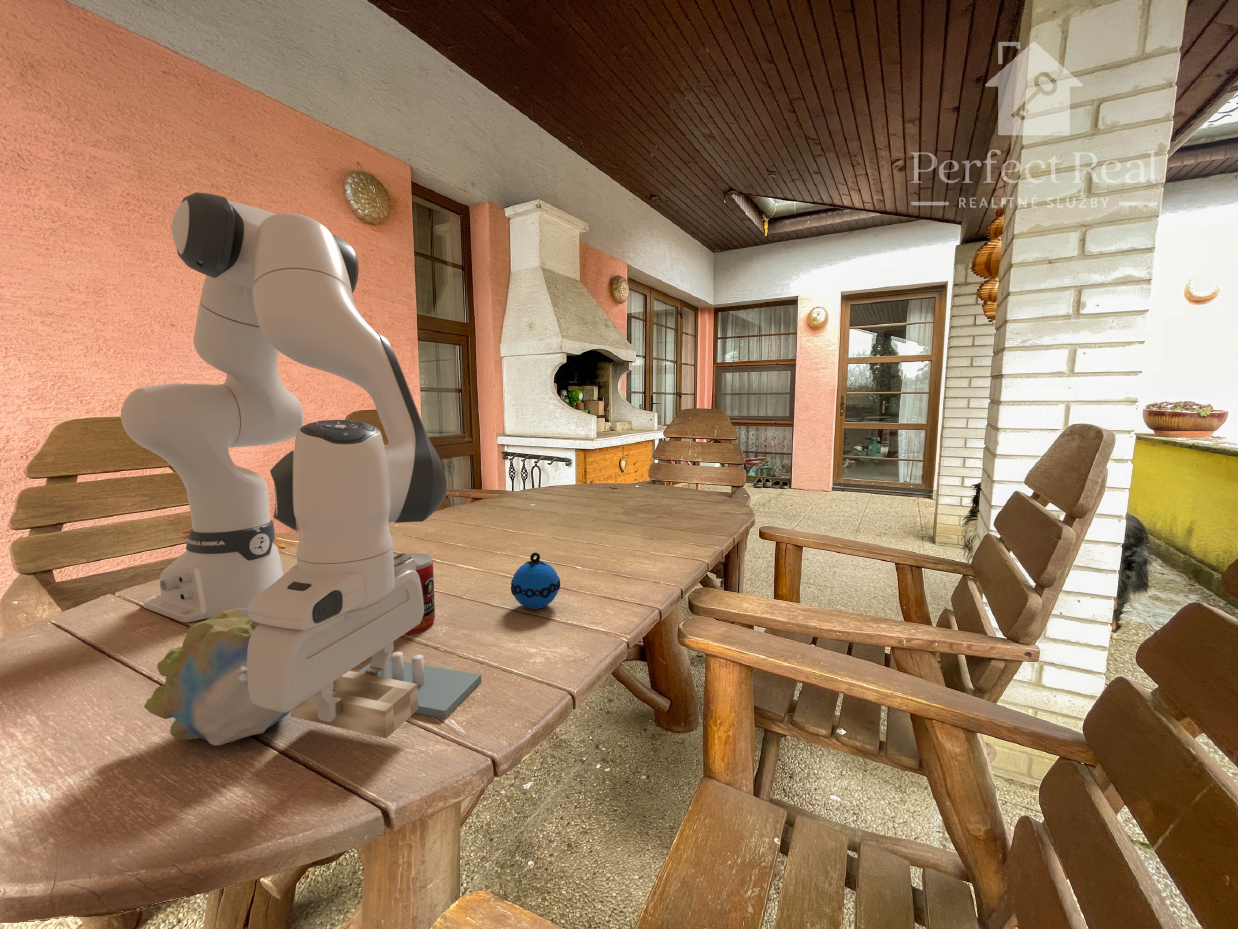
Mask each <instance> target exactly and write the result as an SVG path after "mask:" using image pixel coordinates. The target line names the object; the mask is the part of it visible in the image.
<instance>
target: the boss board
mask: <svg viewBox="0 0 1238 929" xmlns="http://www.w3.org/2000/svg"><path fill="white" fill-rule="evenodd" d="M410 659H411V660H410V661H411V662H405V661H404V652H402V651H396V652H392V654H391V657H390V660H389V663H388V665H387V678H389V679H394V680H399V681H405V682H410V683H415V684H417V693H418V710H417V711H416V712H414V713H413V714H417V715H423V716H429V717H433V718H438V719H443V720H446V719H447V718H448V717H449V716H450V715H451V714H452V713H453V712H454V711H455V710H456V709H457V708H458V707H459V706H460V705H461V703H462V702H463V701H464V700H466V699H467V697H469V695H470V694H471V693H472V692H473V691H474V690H475V689H476V688H477V687H478V686H479V685H480V683H483V682H482V674H481V673H473V672H469V671H462V670H455V669H449V668H442V667H437V666H429V665H425V664H424V662H425V661H424V655H423V654H415V655H413V656H412V657H411V658H410ZM369 667H370V663H368V664H367V665H365V666H364V667H363V668H361V669H359V670H358V671H357V672H358V673H364V674H365V670H366V669H367V668H369Z"/></svg>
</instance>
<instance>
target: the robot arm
mask: <svg viewBox="0 0 1238 929" xmlns="http://www.w3.org/2000/svg"><path fill="white" fill-rule="evenodd" d="M171 236H172V240H173V242H174V246H175V248H176V252H177V256H178V257H179V258H180V259H181V260H182V261H183V263H184V264H185V265H186V267H188V268H189V269H191V270H193V271H195V272H198V273H200V274H202V275H204V276H205V277H204V278H205V279H204V281H203V284H202V289H201V292H200V293H201V295H200V300H199V305H198V310H197V315H196V316H197V317H196V321H195V322H196V324H195V328H194V333H193V340H192V343H193V348H194V349H195V352H196V353H197V354H198V356H199V357H200V358H201V359H202V360H203V361H204V362H205V363H206V364H208V365H210V366H211V367H213V368H214V369H216V370H218V371H220V372H222V373H225V374H226V378H225V381H224V382H223V383H221V384H205V383H203V384H202V383H197V384H196V383H167V384H166V383H165V384H159V385H158V384H157V385H151V386H144V387H138V388H135V389H134V390H133V391H132V392H130V394H129V395H128V396H127V397H126V398H125V400H124V401H123V404H122V406H121V410H120V421H121V422H120V423H121V424H122V427H123V429H124V431H125V432H126V434H127V436H128V437H129V438H130V439H131V440H132V441H133V442H135V443H136V444H137V445H139V446H140V447H141V448H144V449H146V450H149V451H150V452H152V453H154V454H155V455H157V456H159V457H160V458H161V459H163V460H164V461H165V462H167V463H168V464H169V465H170V466H171V467H172V469H174V470H175V472H176V473H177V475H178V476H179V478H180V479H181V482H182V483H183V485H184V488H185V491H186V496H187V500H188V506H189V512H190V518H191V519H190V520H191V529H190V530H189V531H184V532H182V533H181V534H182V535H185V536H183V537H182V540H185V539H186V540H187V541H186V545H185V551H184V552H183V553H181V555H179V556H178V557H177V558H176V559H175V560H174V561H173V562H171V563H170V564H169V565H168V566H166V567H165V568H164V569H163V570H162V571H161V573H160V577H159V589H160V592H159V593H158V594H155V595H153V596H151V597H149V598H147V599H146V600H144V601H143V604H142V608H144V609H147V610H149V611H151V612H153V613H154V612H155V613H156V614H160V615H161V616H162V615H163V616H165V617H168V618H171V619H173V620H176V621H179V622H181V623H191V622H197V621H201V620H205V619H206V620H207V619H209V618H211V617H213V616H215V615H217V614H219V613H221V612H224V611H227V610H232V609H237V608H247V607H248V616H249V619H250V620H251V621H254V622H257V623H260V624H259V625H258V626H257V627H256V629H255V630H254V631H253V633H252V635H251V637H250V640H249V643H248V650H247V679H248V691H249V697H250V700H251V702H252V703H253V704H255V705H256V706H258V707H260V708H263V709H267V710H270V711H276V712H281V713H286V712H288V711H290V710H292V709H293V708H295V707H296V706H298V705H299V704H301V703H302V702H304V701H305V700H307V699H308V698H310V699H311V700H312V701H313V702H314V703H315V704H317V711H318V717H319V719H320V720H323V721H327V722H331V721H332V720H333V719H335V718H336V717H337V716H339V715H340V714H341V713H342V712H343V708H342V705H343V698H339V697H336V698H334V696H331V695H330V694H329V692H330V691H332V690H333V689H334V683H333V681H335V680H336V679H338V678H339V677H341V676H342V675H344V674H345V673H347V672H348V671H352V670H353V669H354V668H356V667H357V666H359V665H361V664H362V663H363V662H365V661H366V660H368V659H370V658H371V660H370V663H369V664H370V667H369V668H367V669H366V670H365V674H368V675H373V676H379V677H384V678H387V665H388V663H389V660H391V654H392V653H394V652H393V651H394V649H395V646H394V643H395V642H394V641H397V640H398V639H399V638H401V637H402V636H404V635H406V634H405V633H407V632H408V631H410V630H411V629H413V628H414V627H416V626H417V625H419V624H420V623H421V620H422V618H423V615H424V602H423V594H422V587H421V582H420V578H419V575H418V573H417V572H416V563H415V560H414V559H413V558H412V557H411V556H410V555H407V553H405V552H401V553H399V554H397V555H396V554H395V553H394V540H393V537H392V535H391V532H390V526H389V523H394V524H401V523H422V522H425V521H426V520H427V519H428V518H429V517H430V516H432V514H434V513H435V512H436V511H437V510H438V509H439V507H440V506H441V505H442V503H443V502H444V501H445V500H446V497H447V490H448V488H447V487H448V485H447V476H446V472H445V469H444V466H443V463H442V460H441V458H440V456H439V454H438V452H437V450H436V448H435V447H434V445H433V444H432V442H431V440H430V438H429V436H428V433H427V431H426V429H425V427H424V423H423V421H422V419H421V416H420V413H419V410H418V408H417V406H416V403H415V400H414V398H413V395H412V393H411V390H410V387H409V385H408V382H407V380H406V377H405V374H404V372H403V369H402V367H401V365H400V362H399V360H398V357H397V356H396V353H395V352H394V349H393V347H392V345H391V344H390V342H389V340H388V338H387V337H386V336H384V335H382V333H380V332H378V331H376V330H374V328H373V327H371V325H369V323H368V322H367V321H366V320H365V318H364V317H363V316H362V315H361V313H360V311H359V310H358V308H357V306H356V304H355V301H354V295H353V294H354V293H355V289H356V286H357V283H358V280H359V273H360V272H359V270H360V269H359V268H360V267H359V260H358V256H357V254H356V252H355V250H354V248H353V246H352V245H351V244H349V243H348V242H347V241H345V240H344V239H341V238H340V237H338V236H336V235H335V234H333V233H332V232H330V230H329V228H327V227H326V226H325V225H324V224H322V223H321V222H320V221H318V220H317V219H314V218H312V217H310V216H307V215H305V214H300V213H298V212H297V213H296V212H280V213H274V212H271V211H269V210H265V209H262V208H259V207H256V206H251V205H247V204H245V203H241V202H236V201H232V200H229V199H227V198H226V197H225V196H222V195H217V194H212V193H206V192H193V193H191V194H189V195H186V196H185V197H183V199H182V200H181V203H180V205H179V206H178V207H177V208H176V210H175V211H174V213H173V216H172V220H171ZM279 352H280V353H281V354H282V355H285V356H286V357H287V358H288V359H290V360H292V361H295V362H297V363H299V364H302V365H303V366H306V367H308V368H313V369H316V370H320V371H322V372H326V373H328V374H331V375H335V376H337V377H339V378H343V379H344V380H347V381H349V382H351V383H353V384H355V385H357V386H359V387H360V388H362V389H363V390H365V392H366V393H367V394H368V395H369V396H370V398H371V399H372V401H373V404H374V406H375V409H376V411H377V414H378V417H379V420H380V422H381V424H382V427H383V430H384V433H385V435H386V438H387V441H388V443H389V444H384V438H383V435H382V433H381V430H380V429H379V428H378V427H376V426H374V425H371V424H370V423H368V422H362V421H355V420H350V419H327V420H325V419H323V420H318V421H315V422H308V423H306V424H305V425H304V423H305V413H304V412H305V411H304V408H303V406H302V404H301V402H300V400H299V399H298V398H297V397H296V396H295V395H294V393H292V392H291V391H290V390H289V389H287V388H286V386H285V385H284V384H283V381H282V380H281V378H280V373H279V369H278V363H279V362H278V360H279ZM292 439H295V441H294V450H290V451H289V452H288V453H286V455H284V456H283V457H282V458H281V459H279V461H277V463H275V465H273V466H272V468H270V470H269V471H270V476H271V478H272V481H273V486H274V504H275V505H274V512H273V519H275V520H277V521H278V522H280V523H281V524H283V525H285V526H286V527H288V528H289V529H291V530H292V531H296V532H297V531H299V542H298V544H297V549H296V565H294V566H292V567H291V568H290V569H289V570H288V571H286V572H285V574H284V573H283V566H282V562H281V557H280V553H279V548H278V546H277V545H276V544H275V543H274V541H275V539H276V534H275V532H276V527H275V525H274V521H273V520H272V519H271V512H270V511H271V510H270V500H269V488H268V484H267V482H266V480H265V479H264V478H263V476H262V475H260V474H259V473H257V472H256V471H253V470H251V469H248V468H244V467H242V466H240V465H237V464H236V463H234V461H233V460H232V457H231V455H230V450H229V449H231V448H244V447H245V448H246V447H256V446H257V447H258V446H259V447H261V446H269V445H275V444H277V443H282V442H285V441H288V440H292ZM186 534H188V535H186ZM394 554H395V555H396V556H395V555H394ZM394 556H395V557H394ZM290 712H291V711H290Z"/></svg>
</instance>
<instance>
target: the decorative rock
mask: <svg viewBox="0 0 1238 929" xmlns="http://www.w3.org/2000/svg"><path fill="white" fill-rule="evenodd" d="M259 624H260V623H257V622H254V621H251V620H250V619H249V616H248V607H247V608H237V609H232V610H227V611H224V612H221V613H219V614H217V615H215V616H213V617H210V618H206V620H205V619H204V620H203V621H199V622H197V623H194V624H192V625H191V626H190V627H188V629H187V632H186V635H185V638H184V639H183V641H182V645H181V646H179V647H173V648H170V649H169V651H168V652H167V653H166V655H165V656H164V658H163V659H162V660H160V661H159V662H158V663H157V666H156V668H157V670H158V673H159V675H160V676H162V677H165V683H164V684H162V685H160V686H158V687H156V688H155V690H154V692H153V693H152V695H151V697H150V698H148V699H146V702H145V704H144V706H143V708H145V709H146V711H148V713H149V714H151V715H154V716H155V717H159V718H161V719H164V720H166V719H167V720H168V719H172V718H173V719H175V720H174V721H173V722H172V724H171V725H170V729H169V733H170V735H171V737H173V738H175V739H177V740H179V741H181V740H186V741H189V740H198V739H202V740H204V741H207V742H208V743H209V744H210V745H212V746H215V747H217V746H222V745H225V744H227V743H233V742H236V741H238V740H241V739H245V738H248V737H251V736H255V735H261V734H263V733H264V734H265V732H266V730H267V729H269V728H270V727H272V726H273V725H275V724H276V723H278V722H279V721H281V720H282V719H284V718H285V717H287V715H289V714H290V713H291V710H290V711H288V712H286V713H281V712H276V711H270V710H267V709H263V708H260V707H258V706H256V705H255V704H253V703H252V702H251V700H250V697H249V691H248V679H247V650H248V643H249V640H250V637H251V635H252V633H253V631H254V630H255V629H256V627H257V626H258V625H259Z"/></svg>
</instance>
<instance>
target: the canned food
mask: <svg viewBox="0 0 1238 929" xmlns="http://www.w3.org/2000/svg"><path fill="white" fill-rule="evenodd" d="M406 554H407V555H410V556H411V557H412V558H413V559H414V560H415V563H416V572H417V573H418V575H419V578H420V582H421V587H422V594H423V602H424V615H423V618H422V620H421V623H420V624H419V625H417V626H416V627H414V628H413V629H411V630H410V631H408V632H407V633H405V634H404V635H412V633H413V634H416V633H421V632H423V631H425V629H426V630H427V629H428V628H431V627H432V626H433V624H434V622H435V618H436V607H435V580H434V579H435V578H434V561H433V557H432V556H431V555H429V554H426V553H419V552H412V553H410V552H407V553H406ZM395 556H396V554H395V555H394V557H395ZM420 631H421V632H420Z"/></svg>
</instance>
